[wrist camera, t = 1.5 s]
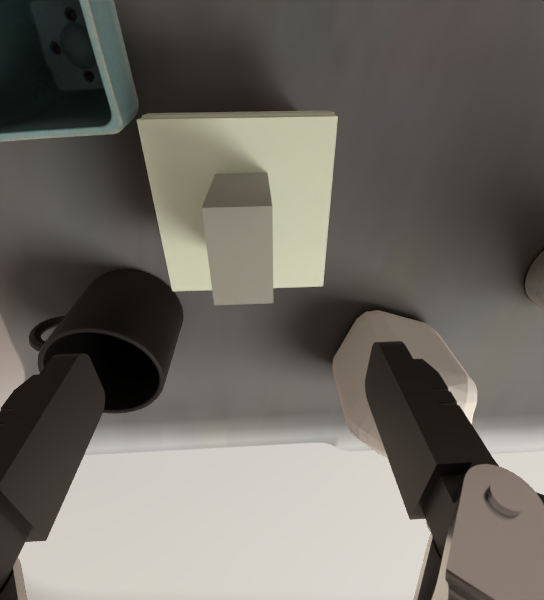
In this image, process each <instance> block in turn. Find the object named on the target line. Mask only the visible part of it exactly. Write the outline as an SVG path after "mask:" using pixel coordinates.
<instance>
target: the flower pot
mask: <svg viewBox="0 0 544 600" xmlns="http://www.w3.org/2000/svg"><path fill="white" fill-rule="evenodd" d="M69 10H73V11H75V13H76V19H75V20H72V19H70V18H69V16H68V11H69ZM55 44H58V45H59V47H60V48H61V53H60V54H57V53H56V52H55V51H54V48H53V46H54V45H55ZM88 72H91V73H92V74H93V75H94V81H89V80H88V79H87V77H86V75H87V73H88ZM138 109H139V102H138V97H137V93H136V89H135V85H134V81H133V77H132V73H131V68H130V64H129V60H128V56H127V52H126V48H125V44H124V40H123V36H122V32H121V27H120V23H119V19H118V15H117V11H116V6H115V2H114V0H0V142H4V141H16V140H29V139H41V138H59V137H74V136H90V135H109V134H116V133H119V132H120V131H121V130H122V129H124V128H125V127H126V126H127V125H128V124H129V123H130V122H131V121H132V120H133V119H134V118H135V116H136V115H137V113H138Z"/></svg>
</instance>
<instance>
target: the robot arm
mask: <svg viewBox="0 0 544 600" xmlns="http://www.w3.org/2000/svg"><path fill="white" fill-rule="evenodd" d="M525 290H526V294H527V295H528V297H529V299H531V300H532V301H533V302H534V303H535V304H537V305H538V306H539V307H540V308H542V309H543V310H544V250H543V251H542V252H541V253H540V254H539V256H538V257H537V258H536V259H535V261H534V262H533V264H532V265H531V267H530V269H529V271H528V273H527V276H526V280H525ZM365 392H366V398H367V401H368V404H369V407H370V410H371V412H372V415H373V418H374V421H375V423H376V426H377V429H378V432H379V435H380V437H381V440H382V443H383V446H384V449H385V451H386V454H387V457H388V459H389V462H390V465H391V468H392V471H393V474H394V476H395V479H396V482H397V485H398V488H399V490H400V493H401V496H402V499H403V501H404V504H405V507H406V510H407V513H408V515H409V518H410V519H426V521H427V523H428V526H429V528H430V531H431V534H430V537H429V541H428V545H427V549H426V552H425V557H424V560H423V565H422V568H421V572H420V576H419V581H418V585H417V589H416V592H415V596H414V600H544V495H542V494H539V493H536V492H535V491H534V490H533V489H532V488H531V487H530V486H529V485H528V484H527V483H526V482H525V481H524V480H522V479H521V478H520V477H519V476H517V475H516V474H514V473H512V472H510V471H509V470H507V469H504V468H502V467H499V466H498V464H497V463H496V462H495V460H494V459H493V458H492V456H491V454H490V453H489V451H488V450H487V448H486V446H485V445H484V443H483V442H482V440H481V439H480V437H479V435H478V434H477V432H476V431H475V429H474V428H473V426H472V424H471V423H470V421H469V420H468V418H467V417H466V415H465V413H464V412H463V410H462V409H461V407H460V405H457V401H456V399H455V398H454V396H453V394H452V393H451V391H449V390H448V387H447V385H446V383H445V382H444V380H443V379H442V377H441V376H440V374H439V372H438V371H436V370H435V369H434V368H433V367H432V366H431V365H429V364H428V363H427V362H426V361H425V360H423V359H413V357H412V356H411V354H410V352H409V350H408V349H407V347H406V345H405V344H404V343H403V342H402V341H390V342H375V343H374V344H373V345H372V349H371V354H370V358H369V363H368V368H367V373H366V377H365ZM104 406H105V393H104V389H103V387H102V384H101V382H100V380H99V377H98V375H97V373H96V371H95V368H94V366H93V364H92V361H91V359H90V357H89V356H88V355H87V354H84V353H83V354H60V355H54V356H53V357H52V358H51V359H50V360H49V361H48V363H47V364H46V365H45V367H44V368H43V370H42V371H41V372H40V374H39V375H33V376H31V377H30V378H29V379H28V380H26V381H25V382H24V383H23V384H21V385H20V386H19V387H18V388H16V389H15V390H14V391H13V393H12V394H11V395H10V396H9V398H8V399H7V400H6V402H5V403H4V404H3V406H2V407H1V411H0V600H27V596H26V590H25V585H24V579H23V573H22V568H21V563H20V560H19V559H18V555H19V553H20V551H21V549H22V547H23V545H24V543H25V542H30V541H46V539H47V537H48V535H49V532H50V530H51V528H52V526H53V524H54V521H55V519H56V517H57V515H58V512H59V510H60V508H61V506H62V503H63V501H64V499H65V496H66V494H67V492H68V490H69V487H70V485H71V483H72V480H73V478H74V476H75V474H76V472H77V469H78V467H79V465H80V462H81V460H82V458H83V456H84V454H85V451H86V449H87V447H88V445H89V442H90V440H91V438H92V436H93V433H94V431H95V429H96V426H97V424H98V422H99V420H100V417H101V415H102V413H103V410H104Z"/></svg>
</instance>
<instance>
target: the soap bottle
mask: <svg viewBox="0 0 544 600" xmlns="http://www.w3.org/2000/svg"><path fill="white" fill-rule="evenodd" d="M390 341H402V342H403V343H404V344H405V345H406V347H407V349H408V350H409V352H410V354H411V356H412V357H413V359H423V360H425V361H426V362H427V363H428V364H429V365H431V366H432V367H433V368H434V369H435V370H436V371H438V372H439V374H440V376H441V377H442V379H443V380H444V382H445V383H446V385H447V387H448V390H449V391H451V393H452V394H453V396H454V398H455V399H456V401H457V405H460V407H461V409H462V410H463V412H464V413H465V415H466V417H467V418H468V420H469V421H470V423H471V424H472V418H473V413H474V410H475V407H476V404H477V389H476V385H475V383H474V382H473V380H472V379H471V378H470V376H469V375H468V374H467V372H466V371H465V369H464V368H463V367H462V365H461V364H460V363H459V361H458V360H457V358H456V357H455V356H454V354H453V353H452V351H451V350H450V349H449V347H448V346H447V345H446V343H445V342H444V340H443V339H442V338H441V336H440V335H439V334H438V333H437V332H436V331H435V330H434V329H433V328H432V327H431V326H430V325H428V324H427V323H424V322H420V321H416V320H413V319H409V318H405V317H402V316H398V315H394V314H391V313H387V312H383V311H380V310H376V311H369V312H368V311H366V312H365V313H363V314H362V315H361V316H360V317H358V318H357V319H356V321H355V322H354V324H353V326H352V328H351V329H350V331H349V333H348V334H347V336H346V338H345V339H344V341H343V343H342V344H341V346H340V348H339V349H338V351H337V353H336V354H335V356H334V358H333V375H334V379H335V383H336V386H337V390H338V394H339V398H340V401H341V405H342V409H343V412H344V416H345V420H346V424H347V426H348V428H349V429H350V431H351V432H352V433H353V434H354V435H355V436H356V437H357V438H358V439H359V440H361V441H362V442H363V443H365V444H366V445H368V446H369V447H370V448H372V449H373V450H375V451H376V452H377V453H379V454H381V455H383V456H385V457H387V454H386V451H385V449H384V446H383V443H382V440H381V437H380V435H379V432H378V429H377V426H376V423H375V421H374V418H373V415H372V412H371V410H370V407H369V404H368V401H367V398H366V392H365V377H366V373H367V368H368V363H369V358H370V354H371V349H372V345H373V344H374V343H375V342H390ZM387 458H388V457H387ZM427 526H428V523H427ZM428 528H429V526H428ZM429 531H430V528H429ZM430 532H431V531H430Z"/></svg>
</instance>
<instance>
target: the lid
mask: <svg viewBox="0 0 544 600" xmlns="http://www.w3.org/2000/svg"><path fill="white" fill-rule="evenodd" d="M337 121H338V116H336V115H334V112H332V111H329V110H325V111H261V112H196V113H148V114H145V115H142V118H140V119H137V125H138V129H139V134H140V139H141V144H142V149H143V153H144V158H145V163H146V168H147V173H148V177H149V182H150V187H151V192H152V196H153V201H154V206H155V211H156V216H157V220H158V225H159V230H160V235H161V240H162V244H163V249H164V254H165V259H166V263H167V268H168V273H169V278H170V283H171V287H172V291H198V290H212V292H213V300H214V305H236V304H265V303H273V288H290V287H320V286H323V281H324V269H325V258H326V246H327V235H328V224H329V212H330V201H331V189H332V178H333V167H334V155H335V144H336V132H337Z"/></svg>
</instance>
